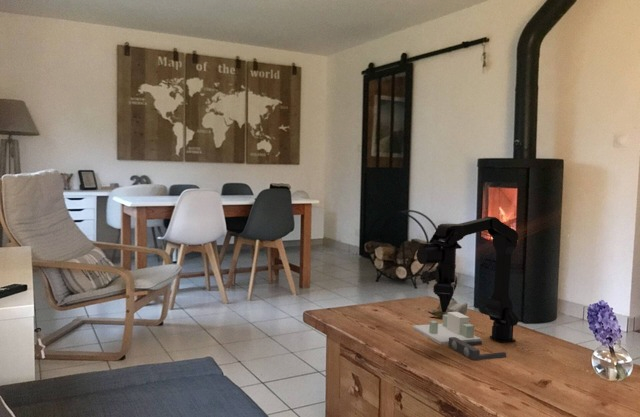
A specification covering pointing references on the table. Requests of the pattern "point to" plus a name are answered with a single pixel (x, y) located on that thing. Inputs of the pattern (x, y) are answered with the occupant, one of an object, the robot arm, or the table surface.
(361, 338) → the table surface
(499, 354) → the glasses
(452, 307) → the ceramic sculpture
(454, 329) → the display stand
